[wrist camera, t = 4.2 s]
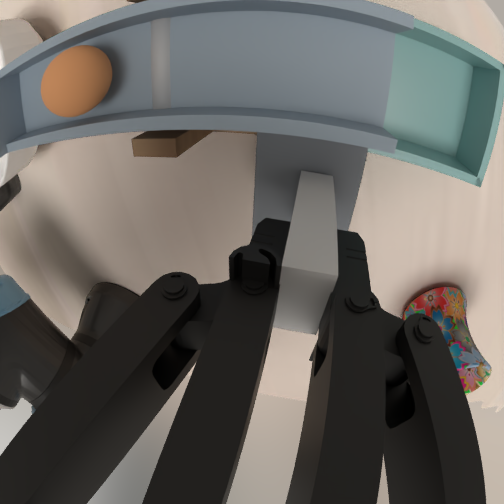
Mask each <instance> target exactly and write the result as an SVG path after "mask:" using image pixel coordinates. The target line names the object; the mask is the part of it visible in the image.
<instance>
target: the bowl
mask: <svg viewBox="0 0 504 504" xmlns="http://www.w3.org/2000/svg"><path fill="white" fill-rule="evenodd" d="M42 42H43V40H42V38H41V37H40V36H39V34H38V33H37V32H36V31H35V30H34V29H33V27H32V26H31V25H30V23H28V22H27V21H25V20H24V19H8V20H0V70H1V69H2V68H3V67H5V66H6V65H7V64H9V63H10V62H12V61H13V60H15V59H16V58H18V57H19V56H21V55H22V54H24V53H25V52H27V51H29V50H30V49H32V48H33V47H35V46H37V45H39V44H40V43H42ZM37 148H38V145H37V146H33V147H28V148H24V149H20V150H16V151H12V152H9V153H7V154H5V155H4V156H2V157H1V158H0V187H1V186H2V185H4V184H5V183H6V182H8V181H9V180H10V179H12V178H13V177H14V176H15V175H16V174H18V173H19V172H20V171H21V170H22V169H24V168H25V167H26V166H27V165H28V164H29V163H30V162H31V160H32V159H33V157H34V156H35V153H36V150H37Z"/></svg>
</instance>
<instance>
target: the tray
mask: <svg viewBox="0 0 504 504" xmlns="http://www.w3.org/2000/svg"><path fill="white" fill-rule="evenodd" d="M503 99H504V64H502V63H501V62H499V61H498V60H496V59H495V58H493V57H492V56H490V55H488V54H487V53H485V52H483V51H482V50H480V49H478V48H477V47H475V46H473V45H471V44H469V43H468V42H466V41H464V40H462V39H460V38H458V37H456V36H454V35H452V34H450V33H448V32H446V31H444V30H441V29H439V28H437V27H435V26H432V25H430V24H427V23H425V22H422V21H420V20H417V19H415V18H414V29H413V30H408V31H404V32H400V33H396V34H395V46H394V57H393V66H392V74H391V82H390V89H389V96H388V102H387V108H386V114H385V120H384V125H383V128H384V129H385V130H386V131H388V132H389V133H390V134H391V135H393V136H394V137H395V138H396V139H397V140H398V141H397V145H396V150H395V154H392V153H388V152H384V151H379V150H375V149H370V148H368V152H370V153H374V154H378V155H382V156H386V157H390V158H394V159H398V160H401V161H405V162H408V163H412V164H415V165H419V166H422V167H425V168H428V169H431V170H434V171H437V172H440V173H443V174H446V175H449V176H452V177H455V178H457V179H460V180H463V181H465V182H468V183H471V184H473V185H476V186H478V187H481V184H482V181H483V178H484V175H485V172H486V169H487V166H488V163H489V160H490V157H491V153H492V150H493V146H494V142H495V138H496V134H497V130H498V126H499V121H500V116H501V111H502V105H503Z"/></svg>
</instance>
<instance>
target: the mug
mask: <svg viewBox="0 0 504 504" xmlns="http://www.w3.org/2000/svg"><path fill="white" fill-rule="evenodd" d="M466 307H467V300H466V296H465V295H464V293H463V292H462V291H460V290H459V289H456V288H453V287H440V288H435V289H432V290H430V291H427V292H425V293H423V294H422V295H420V296H419V297H417V298H416V299H415V300H413V301H412V302H411V303H410V304H409V306H408V307H407V309H406V310H405V312H404V314H403V318H402V319H403V320H406V319H407V318H408V317H409V316H410V315H412V314H415V313H422V314H425V315H427V316H429V317H431V318H432V319H433V320H434V321H436V322H437V324H438V326H439V327H440V329H441V331H442V333H443V335H444V338H445V340H446V343H447V345H448V347H449V350H450V352H451V355H452V357H453V360H454V363H455V365H456V368H457V371H458V374H459V376H460V379H461V382H462V385H463V388H464V391H465V395H468V394H469V393H471V392H473V391H474V390H476V389H477V388H479V387H480V386H481V385H482V384H483V383H485V381H486V380H487V379H488V378H489V376H490V374H491V366H490V365H489V364H488V362H487V361H486V360H485V359H484V358H483V356H482V355H481V353H480V352H479V350H478V349H477V347H476V345H475V344H474V341H473V339H472V337H471V335H470V332H469V328H468V325H467V319H466Z"/></svg>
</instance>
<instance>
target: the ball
mask: <svg viewBox="0 0 504 504" xmlns="http://www.w3.org/2000/svg"><path fill="white" fill-rule="evenodd" d="M111 81H112V66H111V62H110V60H109V58H108V56H107V55H106V54H105V53H104V52H103V51H102V50H100V49H99V48H96V47H94V46H90V45H80V46H74V47H71V48H69V49H67V50H65V51H63V52H62V53H60V54H59V55H58V56H56V57H55V58H54V59H53V60H52V61H51V63H50V64H49V65H48V67H47V69H46V70H45V72H44V75H43V77H42V81H41V96H42V100H43V102H44V104H45V106H46V107H47V108H48V109H49V110H50V111H51V112H52V113H54V114H56V115H58V116H61V117H76V116H79V115H82V114H85V113H87V112H89V111H90V110H92V109H93V108H94V107H96V106H97V105H98V104H99V103H100V102H101V101H102V99H103V98H104V97H105V95H106V94H107V92H108V90H109V88H110V85H111Z"/></svg>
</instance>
